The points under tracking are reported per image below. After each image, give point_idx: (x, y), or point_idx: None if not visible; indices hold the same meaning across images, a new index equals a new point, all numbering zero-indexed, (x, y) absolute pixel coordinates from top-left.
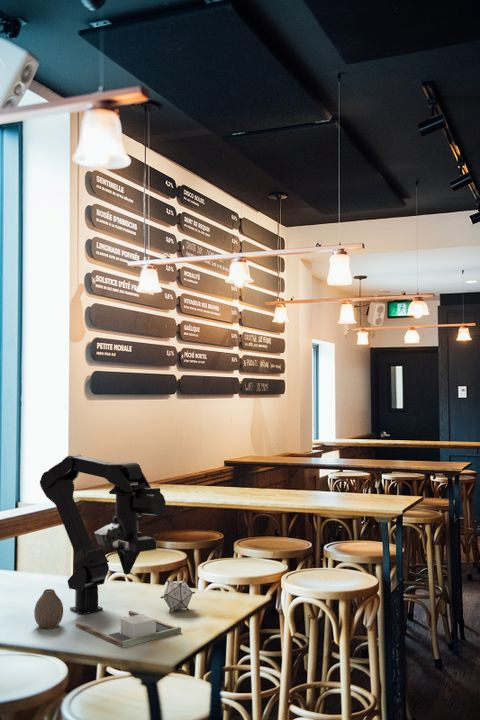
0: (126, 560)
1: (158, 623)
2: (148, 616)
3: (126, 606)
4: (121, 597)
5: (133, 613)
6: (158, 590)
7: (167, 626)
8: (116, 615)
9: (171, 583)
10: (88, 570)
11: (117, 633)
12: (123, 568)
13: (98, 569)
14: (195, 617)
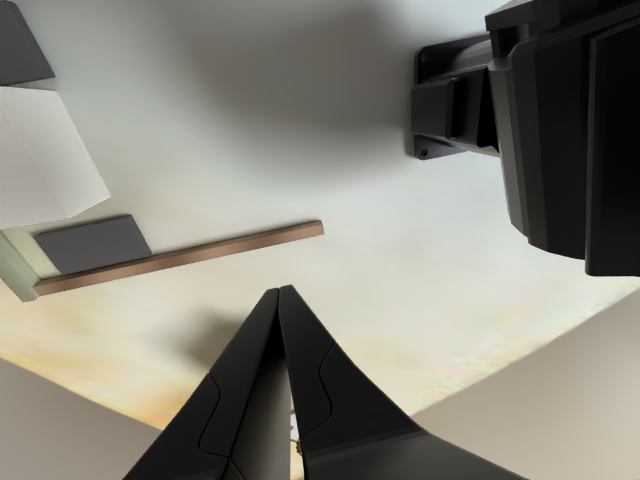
0: (190, 406)
1: (139, 262)
2: (7, 226)
3: (405, 242)
4: (497, 260)
5: (292, 230)
6: (476, 351)
7: (85, 274)
8: (331, 178)
9: (292, 408)
10: (587, 14)
11: (28, 67)
12: (286, 307)
13: (545, 147)
14: (196, 360)
